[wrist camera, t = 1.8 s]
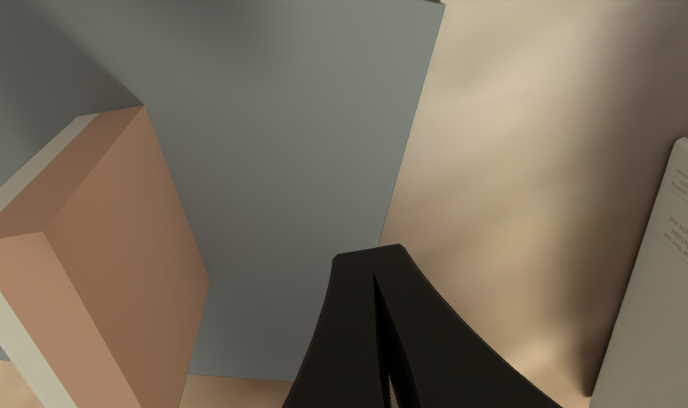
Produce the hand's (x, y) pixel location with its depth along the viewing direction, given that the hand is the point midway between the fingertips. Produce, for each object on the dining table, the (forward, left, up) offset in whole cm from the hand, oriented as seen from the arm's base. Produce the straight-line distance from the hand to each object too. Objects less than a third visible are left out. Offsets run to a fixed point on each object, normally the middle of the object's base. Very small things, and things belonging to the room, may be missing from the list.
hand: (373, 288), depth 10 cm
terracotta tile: (-2, +6, -5) cm, 8 cm away
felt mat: (-2, +6, -6) cm, 9 cm away
